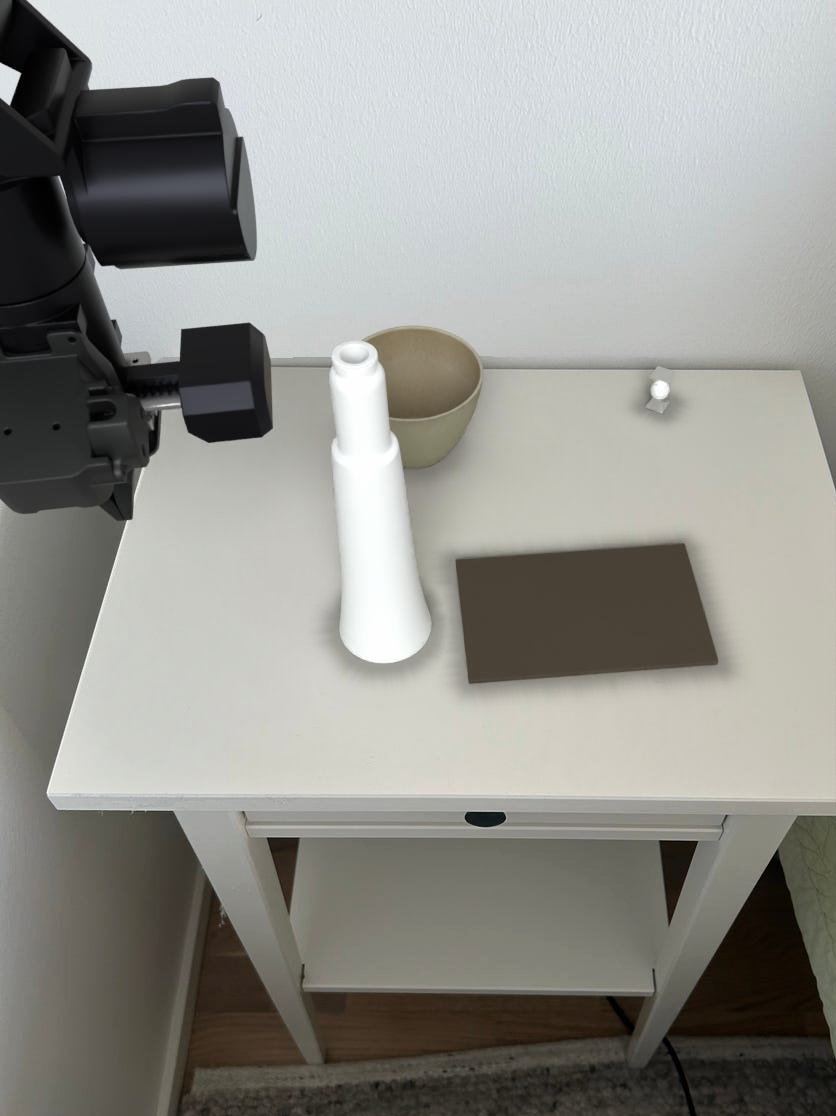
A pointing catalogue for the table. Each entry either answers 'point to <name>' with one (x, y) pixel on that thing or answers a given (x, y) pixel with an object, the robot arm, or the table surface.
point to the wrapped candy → (660, 389)
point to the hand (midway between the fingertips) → (126, 515)
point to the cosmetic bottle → (372, 516)
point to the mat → (582, 613)
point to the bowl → (427, 389)
